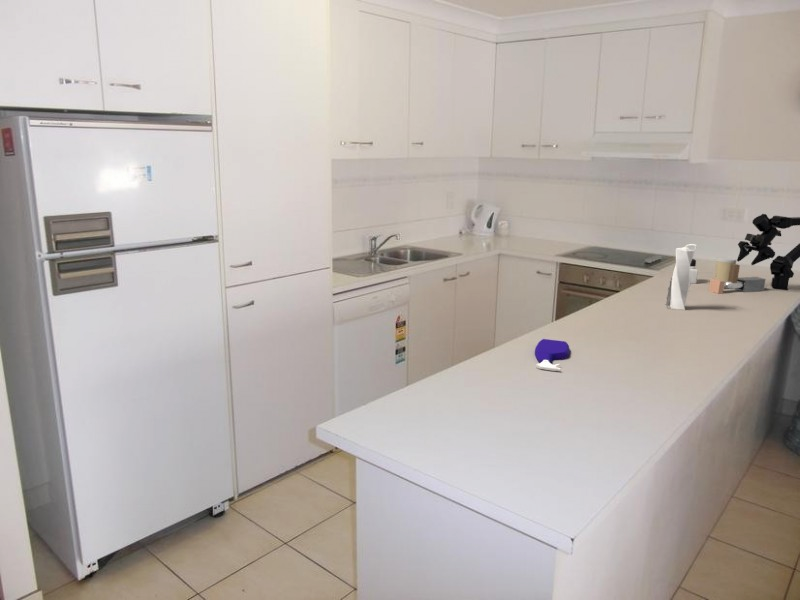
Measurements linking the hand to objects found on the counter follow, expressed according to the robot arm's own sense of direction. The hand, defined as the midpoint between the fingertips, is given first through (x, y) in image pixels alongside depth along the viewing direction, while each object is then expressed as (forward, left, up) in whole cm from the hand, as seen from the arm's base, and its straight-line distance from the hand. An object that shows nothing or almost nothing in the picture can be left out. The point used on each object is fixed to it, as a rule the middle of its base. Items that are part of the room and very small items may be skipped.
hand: (744, 262), depth 300 cm
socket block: (+11, +12, -13) cm, 21 cm away
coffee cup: (+7, -17, -14) cm, 23 cm away
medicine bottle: (+24, -6, -14) cm, 28 cm away
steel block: (-4, -1, -13) cm, 14 cm away
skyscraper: (+27, +54, -14) cm, 62 cm away
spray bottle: (+62, +145, -14) cm, 159 cm away
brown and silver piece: (0, +3, -12) cm, 12 cm away
